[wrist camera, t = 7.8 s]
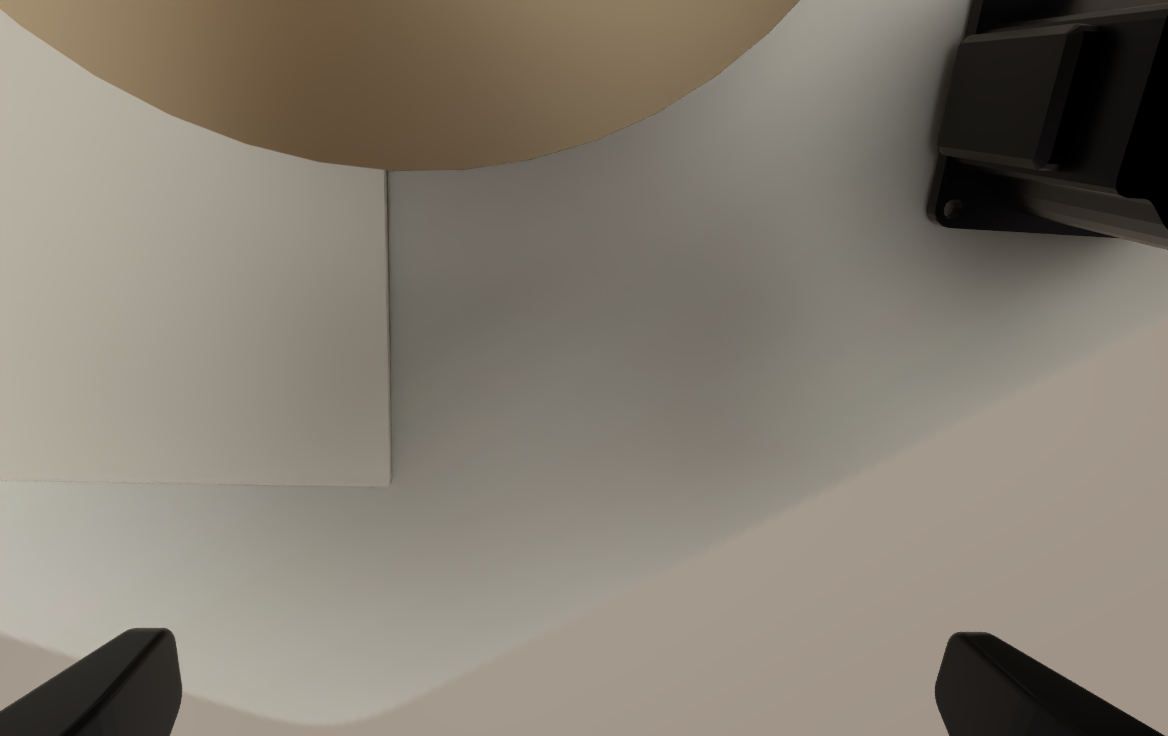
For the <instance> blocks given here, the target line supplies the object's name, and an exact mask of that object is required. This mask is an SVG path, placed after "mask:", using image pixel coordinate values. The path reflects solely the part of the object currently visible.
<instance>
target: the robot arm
mask: <svg viewBox="0 0 1168 736" xmlns="http://www.w3.org/2000/svg"><path fill="white" fill-rule="evenodd" d="M937 146H938V148H939V150H940V153H939V157H938V162H937V166H936V170H935V175H934V179H933V184H932V188H931V193H930V197H929V201H928V207H927V213H928V216H929V219H930V220H931V221H932V222H933V223H935V224H938V225H941V226H944V227H948V228H960V229H976V230H993V231H1010V232H1026V233H1043V234H1060V235H1076V236H1093V237H1110V238H1122V239H1126V240H1130V241H1134V242H1138V243H1142V244H1146V245H1150V246H1154V247H1158V248H1162V249H1166V250H1168V0H974V2H973V7H972V11H971V16H970V20H969V25H968V29H967V33H966V38H965V40H964V41H963V42H962V43H961V44H960V45H959V47H958V51H957V56H956V60H955V65H954V69H953V74H952V78H951V83H950V87H949V92H948V96H947V100H946V105H945V109H944V114H943V118H942V123H941V127H940V132H939V136H938V141H937ZM950 200H953V201H954V208H953V210H952V212H951V213H950V214H949V215H947V216H945V214H944V207H945V205H946V203H948V202H949V201H950ZM181 698H182V683H181V676H180V669H179V662H178V655H177V648H176V641H175V637H174V635H173V633H172V632H171V631H170V630H168V629H166V628H133V629H129V630H127V631H125V632H123V633H122V634H120V635H119V636H117V637H116V638H114V639H112V640H111V641H109V642H108V643H106V644H105V645H103V646H101V647H100V648H98V649H97V650H95V651H94V652H92V653H90V654H89V655H87V656H86V657H84V658H83V659H81V660H80V661H78V662H76V663H75V664H73V665H72V666H70V667H69V668H67V669H66V670H64V671H62V672H61V673H59V674H58V675H56V676H55V677H53V678H51V679H50V680H48V681H47V682H45V683H44V684H42V685H40V686H39V687H37V688H36V689H34V690H33V691H31V692H29V693H28V694H26V695H25V696H23V697H22V698H20V699H19V700H17V701H15V702H14V703H13V704H11V705H9V706H8V707H6V708H4V709H3V710H1V711H0V736H170V734H171V731H172V728H173V725H174V723H175V720H176V717H177V714H178V711H179V708H180V704H181ZM935 699H936V703H937V706H938V709H939V712H940V714H941V717H942V719H943V722H944V724H945V726H946V729H947V731H948V734H949V736H1164V735H1163V734H1161V733H1159V732H1158V731H1156V730H1154V729H1152V728H1151V727H1149V726H1147V725H1146V724H1144V723H1142V722H1141V721H1138V720H1137V719H1135V718H1134V717H1132V716H1130V715H1129V714H1127V713H1125V712H1123V711H1122V710H1120V709H1118V708H1117V707H1115V706H1113V705H1112V704H1110V703H1108V702H1106V701H1105V700H1103V699H1101V698H1100V697H1098V696H1096V695H1094V694H1093V693H1091V692H1089V691H1088V690H1086V689H1084V688H1083V687H1081V686H1079V685H1077V684H1076V683H1074V682H1072V681H1071V680H1069V679H1067V678H1066V677H1064V676H1062V675H1060V674H1059V673H1057V672H1055V671H1053V670H1052V669H1050V668H1048V667H1047V666H1045V665H1043V664H1042V663H1040V662H1038V661H1036V660H1035V659H1033V658H1031V657H1030V656H1028V655H1026V654H1025V653H1023V652H1021V651H1019V650H1018V649H1016V648H1014V647H1013V646H1011V645H1009V644H1007V643H1006V642H1004V641H1002V640H1001V639H999V638H997V637H996V636H994V635H991V634H990V633H986V632H957V633H955V634H953V635H952V636H951V637H950V639H949V641H948V643H947V646H946V650H945V653H944V656H943V660H942V663H941V666H940V670H939V673H938V677H937V681H936V684H935Z"/></svg>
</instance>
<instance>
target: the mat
mask: <svg viewBox="0 0 1168 736" xmlns="http://www.w3.org/2000/svg"><path fill="white" fill-rule="evenodd" d="M0 480H4V481H61V482H119V483H177V484H234V485H292V486H349V487H390V485H391V481H392V462H391V404H390V347H389V290H388V232H387V175H386V170H381V169H373V168H364V167H355V166H347V165H338V164H330V163H321V162H316V161H312V160H308V159H304V158H300V157H296V156H292V155H288V154H284V153H280V152H276V151H272V150H268V149H264V148H260V147H256V146H252V145H248V144H245V143H242V142H239V141H237V140H234V139H231V138H229V137H226V136H224V135H221V134H218V133H216V132H213V131H211V130H208V129H205V128H203V127H200V126H197V125H195V124H192V123H190V122H187V121H184V120H182V119H179V118H176V117H174V116H171V115H169V114H167V113H165V112H163V111H161V110H160V109H158V108H156V107H154V106H152V105H150V104H148V103H146V102H144V101H142V100H140V99H138V98H137V97H135V96H133V95H131V94H129V93H127V92H125V91H123V90H121V89H119V88H117V87H115V86H114V85H112V84H110V83H108V82H106V81H104V80H102V79H100V78H98V77H96V76H94V75H93V74H91V73H90V72H89V71H87V70H86V69H84V68H83V67H81V66H80V65H78V64H77V63H75V62H74V61H72V60H71V59H69V58H68V57H66V56H65V55H63V54H62V53H60V52H59V51H57V50H56V49H54V48H53V47H51V46H50V45H48V44H47V43H45V42H44V41H42V40H41V39H39V38H38V37H36V36H35V35H33V34H32V33H30V32H29V31H27V30H26V29H25V28H23V27H22V26H20V25H19V24H18V23H16V22H15V21H14V20H13V19H12V18H10V17H9V16H8V15H7V14H6V13H4V12H3V11H2V10H1V9H0Z"/></svg>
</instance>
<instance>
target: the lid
mask: <svg viewBox="0 0 1168 736" xmlns="http://www.w3.org/2000/svg"><path fill="white" fill-rule="evenodd" d="M798 2H799V0H0V9H1V10H2V11H3V12H4V13H6V14H7V15H8V16H9V17H10V18H12V19H13V20H14V21H15V22H16V23H18V24H19V25H20V26H22V27H23V28H25V29H26V30H27V31H29V32H30V33H32V34H33V35H35V36H36V37H38V38H39V39H41V40H42V41H44V42H45V43H47V44H48V45H50V46H51V47H53V48H54V49H56V50H57V51H59V52H60V53H62V54H63V55H65V56H66V57H68V58H69V59H71V60H72V61H74V62H75V63H77V64H78V65H80V66H81V67H83V68H84V69H86V70H87V71H89V72H90V73H91V74H93V75H94V76H96V77H98V78H100V79H102V80H104V81H106V82H108V83H110V84H112V85H114V86H115V87H117V88H119V89H121V90H123V91H125V92H127V93H129V94H131V95H133V96H135V97H137V98H138V99H140V100H142V101H144V102H146V103H148V104H150V105H152V106H154V107H156V108H158V109H160V110H161V111H163V112H165V113H167V114H169V115H171V116H174V117H176V118H179V119H182V120H184V121H187V122H190V123H192V124H195V125H197V126H200V127H203V128H205V129H208V130H211V131H213V132H216V133H218V134H221V135H224V136H226V137H229V138H231V139H234V140H237V141H239V142H242V143H245V144H248V145H252V146H256V147H260V148H264V149H268V150H272V151H276V152H280V153H284V154H288V155H292V156H296V157H300V158H304V159H308V160H312V161H316V162H321V163H330V164H338V165H347V166H355V167H364V168H373V169H381V170H390V171H414V170H465V169H471V168H478V167H485V166H491V165H498V164H505V163H511V162H518V161H525V160H531V159H534V158H538V157H541V156H545V155H548V154H551V153H555V152H558V151H562V150H565V149H568V148H572V147H575V146H579V145H582V144H585V143H589V142H592V141H596V140H598V139H600V138H602V137H605V136H607V135H609V134H611V133H613V132H616V131H618V130H620V129H622V128H625V127H627V126H629V125H631V124H633V123H636V122H638V121H640V120H642V119H645V118H647V117H649V116H651V115H654V114H656V113H658V112H659V111H661V110H663V109H664V108H666V107H667V106H669V105H671V104H672V103H674V102H675V101H677V100H679V99H680V98H682V97H684V96H685V95H687V94H688V93H690V92H692V91H693V90H695V89H696V88H698V87H700V86H701V85H703V84H704V83H706V82H708V81H709V80H711V79H712V78H714V77H716V76H717V75H718V74H719V73H720V72H722V71H723V70H724V69H725V68H727V67H728V66H729V65H730V64H731V63H733V62H734V61H735V60H736V59H738V58H739V57H740V56H741V55H742V54H744V53H745V52H746V51H747V50H748V49H750V48H751V47H752V46H753V45H755V44H756V43H757V42H758V41H759V40H761V39H762V38H763V37H764V36H766V35H767V34H768V33H769V32H770V31H771V30H772V29H773V28H774V27H775V26H776V25H777V24H778V23H779V22H780V21H781V20H782V18H783V17H784V16H785V15H786V14H787V13H788V12H789V11H790V10H791V9H792V8H793V7H794V6H795V5H796V4H797V3H798Z"/></svg>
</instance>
